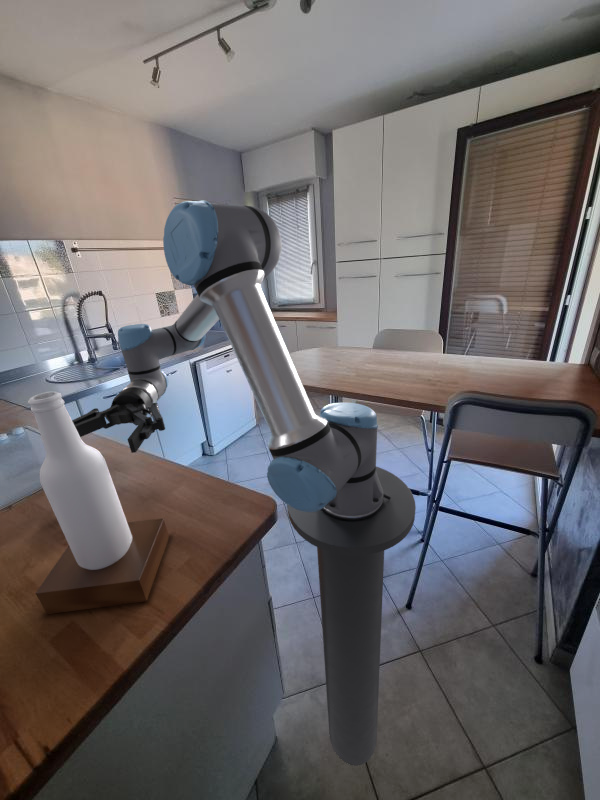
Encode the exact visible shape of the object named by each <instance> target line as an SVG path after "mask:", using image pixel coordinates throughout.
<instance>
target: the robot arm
mask: <svg viewBox="0 0 600 800" xmlns="http://www.w3.org/2000/svg"><path fill="white" fill-rule="evenodd" d="M162 241H163V244H162V246H163V253H164V254H163V255H164V258H165V262H166V264H167V267H168V269H169V271H170V274H172V276H173V278H175V279H176V280H177V281H179V283H181V284H183V285H187V286H193V287H194V289H195V291H196V293H197V294H196V295H195V297H194V298H193V299H192V300H191V302H190V303H189V304H188V305H187V307H186V308H185V309H184V310H183V312H182V313H181V314H180V316H179V317H178V318H177V320H175V322H174V323H173V324H172V325H168V326H164V327H159V328H154V329H152V328H151V326H150V325H149V324H148V323H135V324H129V325H125V326H122V327H120V328H119V329H118V330H117V337H118V343H119V348H120V351H121V353H122V357H123V360H124V364H125V366H126V370H127V374H128V377H129V381H130V382H129V383H128V384H127V385H126V386H124V387H123V389H122V390H121V391H119V393H118V394H116V395H115V396H114V398H113V400H112V402H111V405H110V407H109V408H107V409H104V410H102V411H100V409H99V408H92V409H91V410H89V411H88V412H86V413H85V414H82V415H80V416H78V417H76V418H74V419H72V421H73V423H74V426H75V428H76V430H77V432H78V434H79V436H80V438H83V437H84V436H87V435H89V434H92V433H94V432H96V431H99V430H101V429H105V430H106V429H109V428H112V427H114V426H116V425H119V426H120V425H122V424H133V425H135V427H136V428H135V429H134V430H133V432H132V433H131V434H130V435H129V437H128V438H127V443H128V446H129V450H130V453H131V454H133V453H137V452H138V451H139V449H140V448H141V446H142V444H143V443H144V441H145V440H148V439H150V437H151V435H152V434H154V433H155V432H156V431H157V430H158V431H159V432H163V431H165V430H166V426H165V421H164V418H163V416H162V414H161V412H160V408H159V404H158V401H159V400H160V399H161V398H162V396H164V394H165V393H166V391H167V389H168V386H169V378H168V375H167V374H166V373H165V372H164V370H162V368H161V365H160V360H161V359H166V358H168V357H172V356H175V355H178V354H182V353H185V352H189V351H194V350H196V349H197V348H201V347H202V346H204V344H205V342H206V338H207V337H206V336H207V333H208V332H209V331H210V330H211V329H212V328H213V327H214V326H215V325H216V324H217V322H220V324H221V326H222V329H223V330H224V333H225V335H226V337H227V339H228V341H229V344H230V346H231V348H232V350H233V353H234V354H235V355H234V356H235V357H236V359H237V362H238V364H239V365H240V369H241V370H242V372H243V375H244V377H245V379H246V381H247V383H248V385H249V388H250V391H251V392H252V395H253V396H254V399H255V401H256V403H257V405H258V408H259V410H260V412H261V414H262V416H263V419H264V421H265V423H266V425H267V427H268V429H269V431H270V438H269V440H268V442H267V448H268V450H269V453H270V456H271V457H272V460H271V461H270V463H269V465H268V466H267V472H266V477H267V481H268V484H269V486H270V488H271V489H272V491H273V492H274V494H275V495H276V496H277V497H278V499H280V500H281V501H282V502H283V503H285V504H286V505H287V504H288V505H290V506H291V507H293V508H295V509H297V510H300V511H303V512H316V511H319V510H322V511H323V512H324V513H326V514H327V515H329V516H330V517H333V518H335V519H338V520H342V521H361V520H365V519H368V518H371V517H372V516H374V515H376V514H377V513H378V512H379V511H380V509H381V508H382V505H383V497H384V498H387V499H389V500H390V498H391V497H390V496H388V495H386V494H384V493H383V489H382V486H381V484H380V481H379V478H378V475H377V473H376V467H377V449H378V447H377V446H378V445H377V444H378V441H377V440H378V428H379V425H378V417H377V413H376V412H375V411H374V410H373V409H372V408H371V407H369V406H366V405H364V404H361V403H355V402H334V403H329V404H327V405H324V406H323V407H321V409H320V412H319V415H317V414H316V412H315V410H314V408H313V405H312V403H311V401H310V399H309V397H308V394H307V392H306V389H305V386H304V384H303V382H302V380H301V378H300V376H299V373H298V371H297V369H296V366H295V364H294V362H293V359H292V357H291V355H290V352H289V350H288V347H287V345H286V343H285V340H284V338H283V336H282V334H281V331H280V329H279V327H278V324H277V322H276V320H275V318H274V315H273V313H272V310H271V308H270V305H269V303H268V301H267V299H266V296H265V294H264V292H263V290H262V283H263V282H264V281H265V280H266V279H268V277H269V276H270V275H271V274H272V272H273V271H274V270H275V269H276V267H277V266H278V263H279V262H280V258H281V256H282V251H283V250H282V249H283V245H282V244H283V242H282V236H281V231H280V229H279V227H278V225H277V223H276V222H275V220H274V219H273V218H272V217H271V216H270V215H269V214H268V213H267V212H265V211H264V210H262V209H261V208H259V207H256V206H252V205H239V204H238V205H237V204H227V203H226V204H225V203H216V202H215V203H213V202H210V201H208V200H204V199H202V200H201V199H200V200H197V201H196V200H195V201H192V200H186V201H182V202H180V203H178V204H176V205H175V206H174V207H173V208H172V209H171V210H170V212H169V214H168V215H167V218H166V221H165V224H164V228H163V238H162ZM148 415H150V416H148Z"/></svg>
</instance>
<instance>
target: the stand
mask: <svg viewBox="0 0 600 800" xmlns="http://www.w3.org/2000/svg"><path fill="white" fill-rule="evenodd" d="M127 523H128V526H129V529H130V532H131V535H132V542H131V545H130V547H129V549H128V551H127V552H126V554H125V555H124V556H123V557H122V558H121V559H119V560H118V561H117V562H115V563H114V564H112V565H110V566H108V567H105V568H102V569H98V570H89V569H85V568H82V567H80V566H79V565H78V563H77V562H76V559H75V557H74V555H73V553H72V551H71V548H70V546H69V545H68V546H67V547H66V548H65V550H64V551H63V553H62V554H61V555H60V557H59V558H58V560H57V561H56V563H55V564H54V566H53V567H52V569H51V570H50V572H49V573H48V575H47V576H46V577H45V579H44V581H43V582H42V583H41V585H40V586H39V588H38V589H37V590H36V592H35V595H36V598H37V599H38V601H39V603H40V604H41V606H42V608H43V610H44V612H45V613H46V615H52V614H58V613H59V614H60V613H68V612H75V611H82V610H83V611H84V610H90V609H99V608H107V607H112V606H113V607H114V606H121V605H128V604H137V603H144V602H147V601H148V598H149V596H150V594H151V590H152V587H153V585H154V582H155V579H156V576H157V573H158V570H159V567H160V565H161V561H162V559H163V556H164V554H165V551H166V548H167V546H168V545H167V544H168V542H169V539H170V535H169V531H168V528H167V524H166V521H165V518H164V517H162V518H161V517H160V518H153V519H145V520H137V521H136V520H135V521H127Z"/></svg>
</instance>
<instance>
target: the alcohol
mask: <svg viewBox="0 0 600 800" xmlns="http://www.w3.org/2000/svg"><path fill="white" fill-rule="evenodd" d="M27 404H28V405H30V411H31V412H32V413H33V416H34V418H35V421H36V425H37V428H38V431H39V435H40V437H41V438H40V439H41V440H42V444H43V447H44V450H45V457H44V460H43V462H42V463H41V466H40V469H39V483H40V485H41V487H42V489H43V492H44V494H45V497H46V498H47V500H48V502H49V504H50V507H51V509H52V511H53V514H54V516H55V518H56V520H57V522H58V525H59V527H60V530H61V531H62V533H63V535H64V537H65V540H66V542H67V544H68V546H70V548H71V551H72V553H73V555H74V557H75V559H76V562H77V563H78V565H79V566H80V567H82V568H85V569H89V570H98V569H102V568H105V567H108V566H110V565H112V564H114V563H115V562H117V561H118V560H119V559H121V558H122V557H123V556H124V555H125V554H126V552H127V551H128V549H129V547H130V545H131V542H132V535H131V532H130V529H129V526H128V523H127V522H128V521H127V517H126V515H125V512H124V510H123V507H122V506H123V505H122V503H121V501H120V499H119V495H118V493H117V490H116V486H115V485H114V484H115V483H114V481H113V478H112V476H111V473H110V470H109V467H108V464H107V462H106V459H105V457H104V455H102V453H101V452H100V451H99V450H98V449H96V448H95V447H93V446H91V445H88V444H86V443H85V442H84V441H83V440H82V437H80V436H79V434H78V432H77V430H76V428H75V426H74V423H73V421H72V420H73V419H72V417H71V416H70V413H69V412H68V410H67V407H66V405H65V400H64V399H63V395H62V393H61V392H59V391H55V390H54V391H53V390H52V391H45V392H41V393H38V394H35V395H32V396H31V397H30V398H29V399H28V400H27Z"/></svg>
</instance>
